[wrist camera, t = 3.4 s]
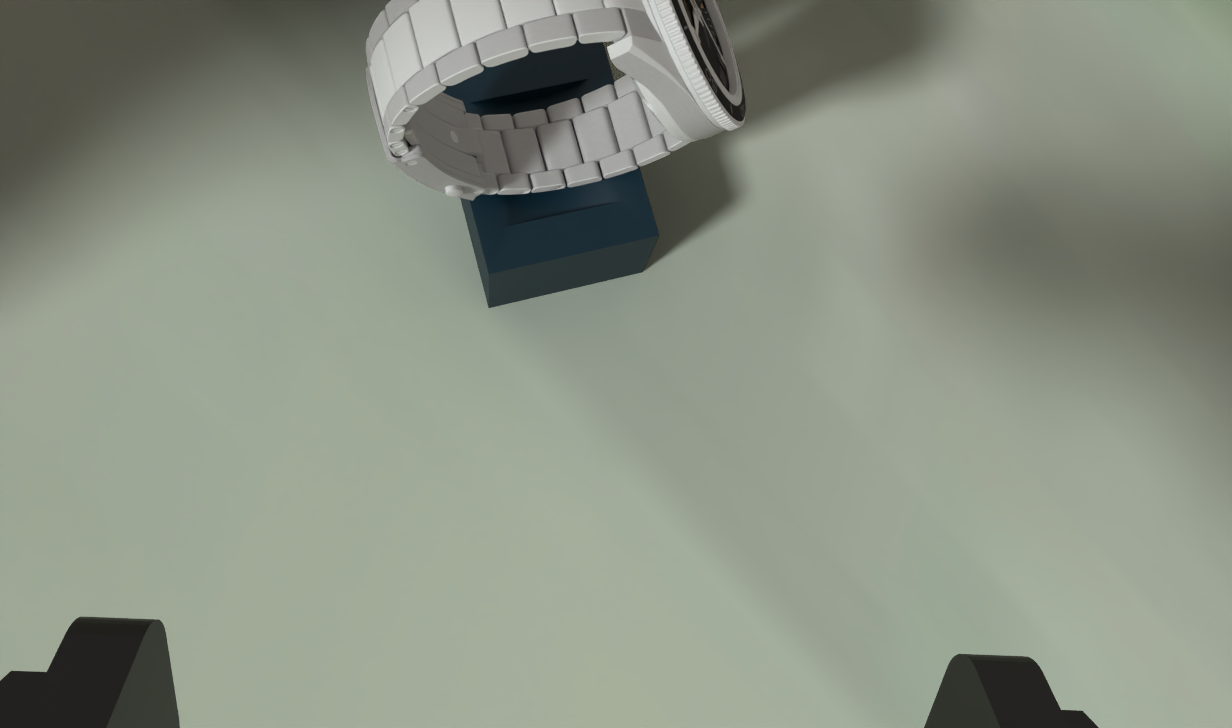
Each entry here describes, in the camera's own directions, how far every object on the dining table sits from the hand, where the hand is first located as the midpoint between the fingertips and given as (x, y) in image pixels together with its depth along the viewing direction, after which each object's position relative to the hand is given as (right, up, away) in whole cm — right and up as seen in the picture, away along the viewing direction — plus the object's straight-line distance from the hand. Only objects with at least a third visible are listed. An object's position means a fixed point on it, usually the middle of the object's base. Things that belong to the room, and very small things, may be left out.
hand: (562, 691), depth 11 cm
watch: (-2, +8, +19) cm, 21 cm away
